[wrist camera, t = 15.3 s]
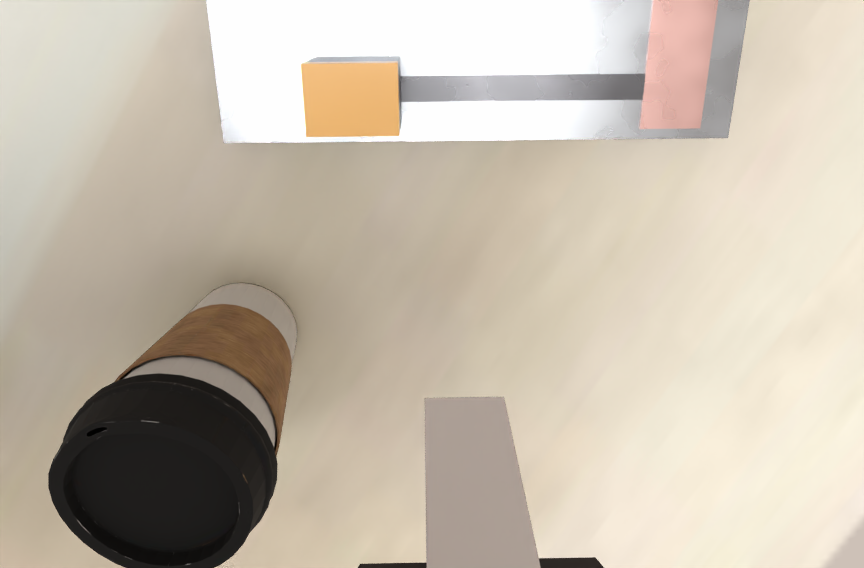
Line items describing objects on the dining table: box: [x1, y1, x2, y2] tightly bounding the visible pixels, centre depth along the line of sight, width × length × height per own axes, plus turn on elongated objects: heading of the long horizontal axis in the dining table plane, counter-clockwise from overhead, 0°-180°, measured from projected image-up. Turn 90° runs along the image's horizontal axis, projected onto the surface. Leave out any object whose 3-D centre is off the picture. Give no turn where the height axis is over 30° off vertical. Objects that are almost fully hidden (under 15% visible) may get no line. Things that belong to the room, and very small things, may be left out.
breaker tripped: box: [301, 57, 402, 137], centre depth 30 cm, size 4×3×4 cm
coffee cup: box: [49, 283, 297, 568], centre depth 32 cm, size 8×8×15 cm
